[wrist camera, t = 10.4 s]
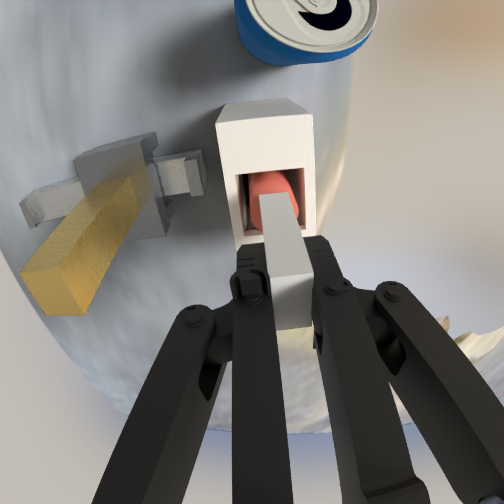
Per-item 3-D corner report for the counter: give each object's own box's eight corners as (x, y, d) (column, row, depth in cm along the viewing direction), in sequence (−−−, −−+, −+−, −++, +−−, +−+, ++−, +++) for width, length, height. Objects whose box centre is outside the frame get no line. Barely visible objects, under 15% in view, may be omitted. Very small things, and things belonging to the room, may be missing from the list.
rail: (34, 190, 24) (19, 203, 22) (201, 148, 23) (196, 159, 21) (43, 214, 26) (30, 228, 23) (207, 180, 25) (203, 194, 23)
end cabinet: (225, 104, 21) (215, 123, 14) (287, 98, 21) (312, 114, 14) (240, 212, 27) (240, 275, 20) (295, 206, 27) (315, 267, 20)
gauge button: (245, 151, 22) (247, 194, 15) (279, 148, 21) (297, 188, 15) (249, 182, 23) (253, 236, 17) (282, 179, 23) (299, 231, 16)
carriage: (94, 145, 22) (-17, 236, 10) (154, 129, 22) (58, 215, 10) (118, 221, 27) (50, 342, 14) (174, 212, 26) (127, 345, 14)
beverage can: (277, 81, 20) (310, 91, 10) (220, 27, 17) (198, -12, 8) (336, 36, 18) (413, 18, 8) (281, -19, 15) (314, -83, 5)
